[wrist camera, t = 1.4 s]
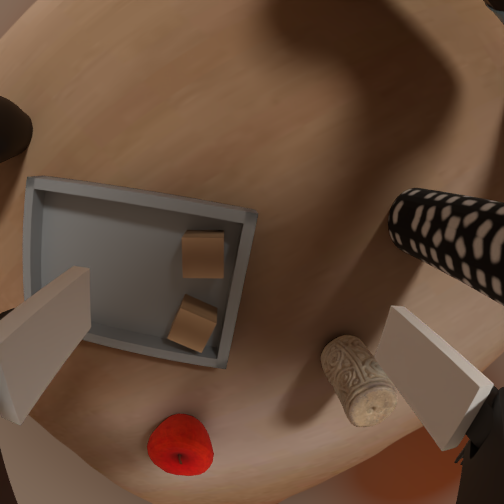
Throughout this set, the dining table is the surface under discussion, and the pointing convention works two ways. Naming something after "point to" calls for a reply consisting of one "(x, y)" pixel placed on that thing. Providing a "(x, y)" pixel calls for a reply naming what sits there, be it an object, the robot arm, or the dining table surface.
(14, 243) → the dining table surface
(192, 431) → the apple
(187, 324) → the walnut block
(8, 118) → the mug
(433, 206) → the spotted tube
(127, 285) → the tray
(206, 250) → the walnut block
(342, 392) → the carving
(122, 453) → the dining table surface
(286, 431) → the dining table surface
